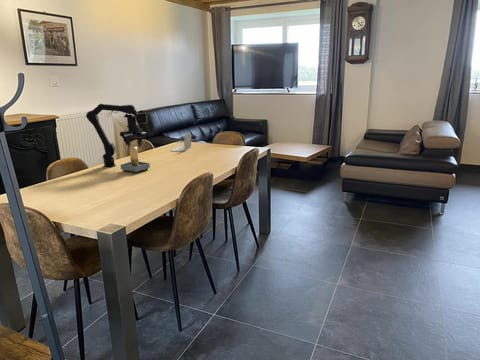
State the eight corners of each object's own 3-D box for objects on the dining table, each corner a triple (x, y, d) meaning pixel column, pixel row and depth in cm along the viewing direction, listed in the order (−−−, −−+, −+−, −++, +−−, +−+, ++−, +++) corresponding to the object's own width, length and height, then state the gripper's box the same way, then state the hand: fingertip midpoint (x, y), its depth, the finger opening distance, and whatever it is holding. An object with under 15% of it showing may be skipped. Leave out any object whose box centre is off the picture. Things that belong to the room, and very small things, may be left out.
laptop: (177, 147, 312) (176, 132, 308) (191, 147, 310) (190, 132, 306) (170, 151, 295) (169, 135, 291) (185, 151, 293) (184, 135, 289)
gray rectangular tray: (121, 171, 237) (120, 164, 235) (134, 167, 247) (134, 160, 245) (136, 173, 230) (135, 167, 229) (150, 169, 240) (149, 163, 238)
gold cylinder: (130, 167, 235) (128, 148, 232) (132, 165, 240) (130, 146, 236) (137, 166, 235) (135, 148, 231) (139, 165, 240) (137, 146, 236)
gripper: (150, 122, 249) (152, 145, 253) (129, 121, 256) (131, 143, 260) (140, 124, 239) (142, 148, 243) (118, 123, 246) (120, 146, 251)
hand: (134, 146), depth 250 cm, fingers open, 9 cm apart
